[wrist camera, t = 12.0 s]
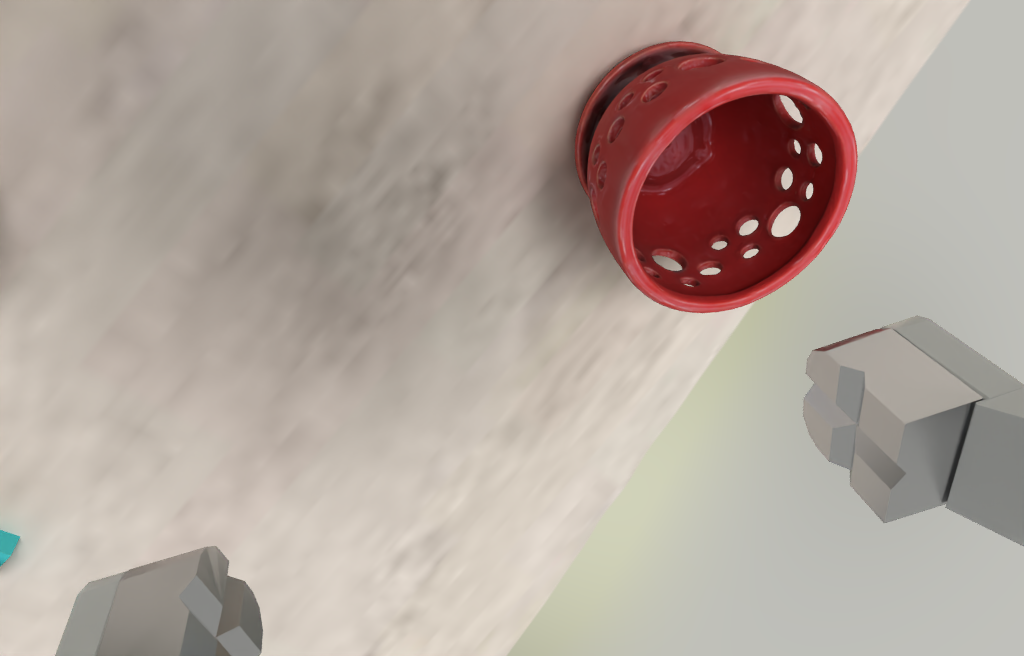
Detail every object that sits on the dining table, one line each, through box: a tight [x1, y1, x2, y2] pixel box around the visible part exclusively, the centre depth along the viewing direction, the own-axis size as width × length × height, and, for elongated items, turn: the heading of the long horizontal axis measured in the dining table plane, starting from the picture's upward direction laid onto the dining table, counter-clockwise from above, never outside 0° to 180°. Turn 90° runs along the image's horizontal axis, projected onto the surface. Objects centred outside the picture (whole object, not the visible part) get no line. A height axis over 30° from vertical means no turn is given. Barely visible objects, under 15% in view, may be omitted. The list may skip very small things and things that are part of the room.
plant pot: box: [575, 41, 858, 313], centre depth 38 cm, size 13×13×12 cm
